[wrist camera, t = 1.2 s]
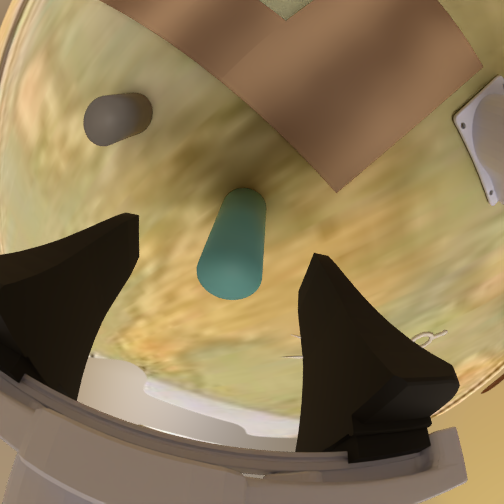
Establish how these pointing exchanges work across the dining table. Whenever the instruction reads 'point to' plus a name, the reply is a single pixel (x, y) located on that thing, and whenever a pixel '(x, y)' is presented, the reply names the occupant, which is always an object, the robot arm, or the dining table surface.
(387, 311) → the dining table surface
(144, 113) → the charcoal stub
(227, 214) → the teal pin
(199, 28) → the walnut hole block
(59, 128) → the dining table surface
